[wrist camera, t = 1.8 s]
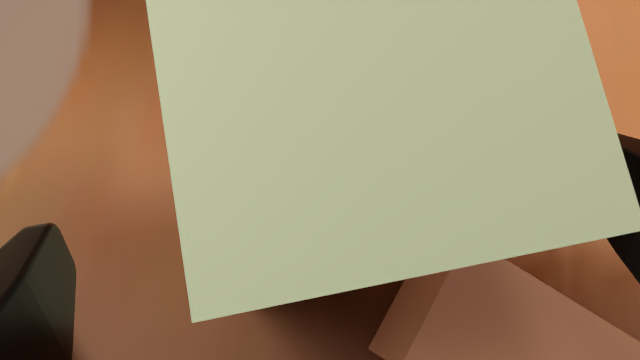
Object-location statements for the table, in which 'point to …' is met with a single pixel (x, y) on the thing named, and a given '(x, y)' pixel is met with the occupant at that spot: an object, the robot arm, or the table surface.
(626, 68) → the table surface
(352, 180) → the tall sage block
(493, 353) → the terracotta brick
